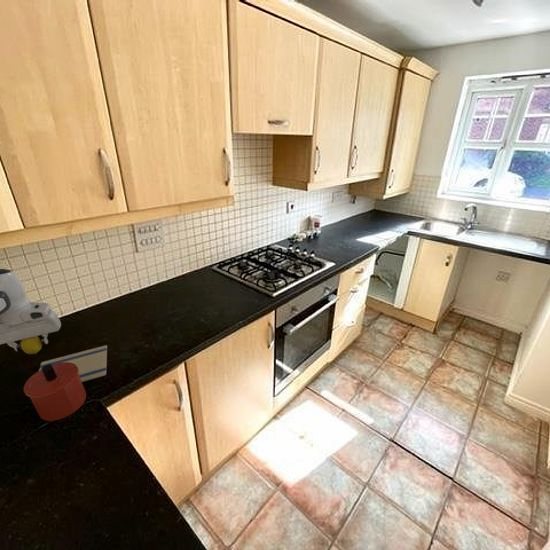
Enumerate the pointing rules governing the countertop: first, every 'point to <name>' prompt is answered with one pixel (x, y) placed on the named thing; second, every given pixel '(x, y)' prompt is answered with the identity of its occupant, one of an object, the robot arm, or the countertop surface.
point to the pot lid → (50, 379)
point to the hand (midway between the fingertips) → (32, 346)
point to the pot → (61, 402)
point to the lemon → (31, 345)
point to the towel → (85, 362)
